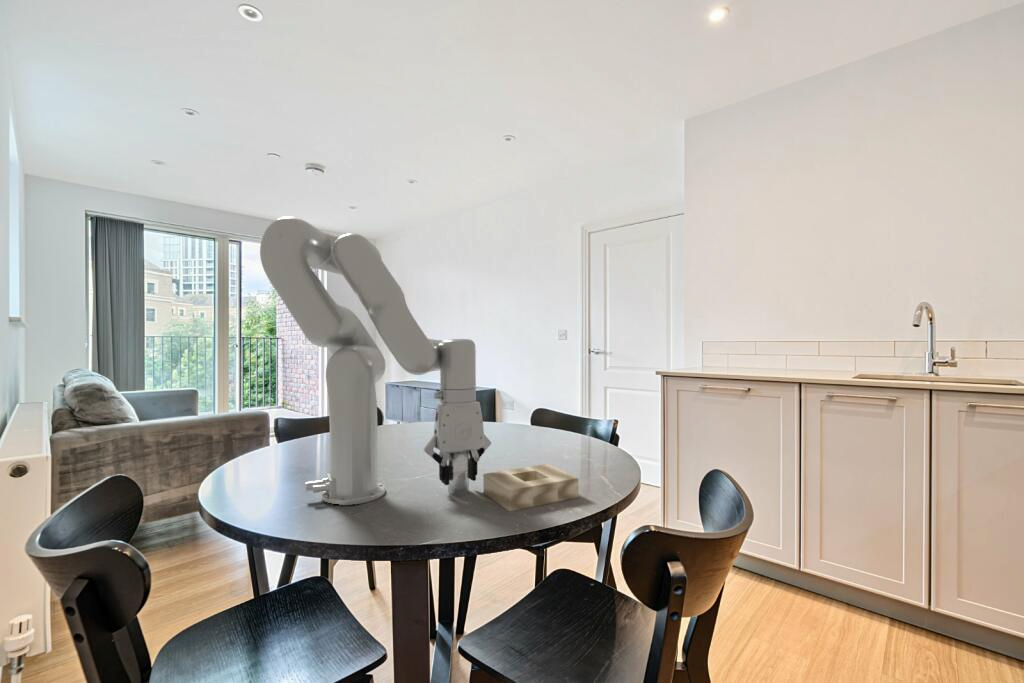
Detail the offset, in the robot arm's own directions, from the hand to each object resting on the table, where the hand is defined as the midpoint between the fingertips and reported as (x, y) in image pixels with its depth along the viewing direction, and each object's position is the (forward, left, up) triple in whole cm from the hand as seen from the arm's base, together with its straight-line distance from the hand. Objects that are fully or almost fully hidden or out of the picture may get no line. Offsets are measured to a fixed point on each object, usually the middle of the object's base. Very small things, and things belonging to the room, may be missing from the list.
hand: (458, 480), depth 96 cm
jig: (+12, -9, -2) cm, 16 cm away
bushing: (0, 0, -2) cm, 2 cm away
